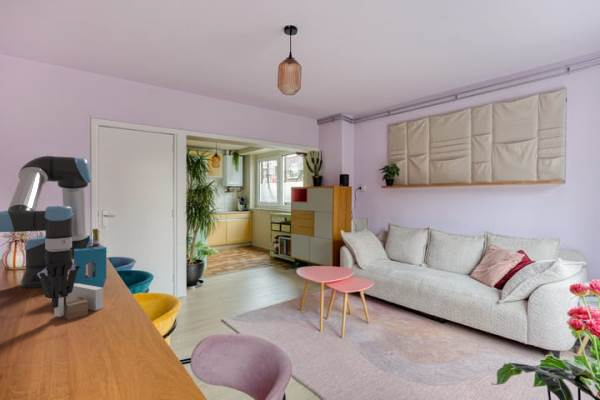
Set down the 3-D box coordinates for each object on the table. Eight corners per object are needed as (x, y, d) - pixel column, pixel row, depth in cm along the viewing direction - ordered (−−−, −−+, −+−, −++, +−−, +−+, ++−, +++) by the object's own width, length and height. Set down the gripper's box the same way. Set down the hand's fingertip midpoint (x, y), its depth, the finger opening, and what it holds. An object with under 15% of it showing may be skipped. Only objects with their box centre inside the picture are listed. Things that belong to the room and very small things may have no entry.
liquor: (106, 284, 150) (106, 227, 149) (104, 288, 143) (104, 229, 143) (88, 286, 147) (88, 228, 146) (85, 290, 140) (85, 230, 140)
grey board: (59, 302, 125) (58, 283, 124) (66, 300, 127) (66, 281, 127) (95, 310, 116) (95, 290, 116) (103, 308, 119) (103, 287, 119)
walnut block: (61, 314, 113) (61, 300, 113) (80, 309, 118) (80, 296, 117) (68, 319, 108) (68, 305, 108) (87, 314, 113) (87, 301, 113)
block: (74, 296, 132) (73, 250, 132) (74, 293, 136) (74, 249, 136) (106, 291, 139) (106, 248, 139) (105, 288, 143) (105, 246, 143)
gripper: (44, 253, 101) (44, 324, 101) (84, 247, 113) (84, 310, 113) (30, 251, 103) (30, 320, 104) (71, 245, 115) (71, 307, 116)
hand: (59, 315), depth 108 cm, fingers closed
